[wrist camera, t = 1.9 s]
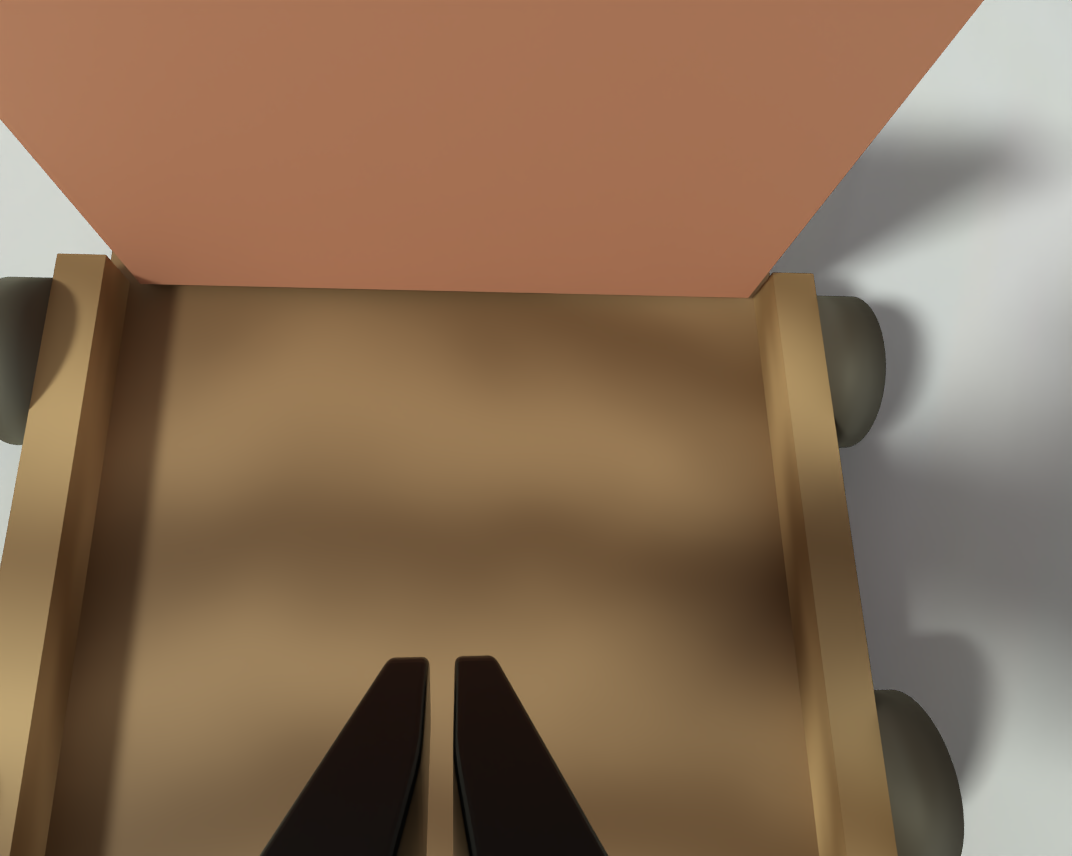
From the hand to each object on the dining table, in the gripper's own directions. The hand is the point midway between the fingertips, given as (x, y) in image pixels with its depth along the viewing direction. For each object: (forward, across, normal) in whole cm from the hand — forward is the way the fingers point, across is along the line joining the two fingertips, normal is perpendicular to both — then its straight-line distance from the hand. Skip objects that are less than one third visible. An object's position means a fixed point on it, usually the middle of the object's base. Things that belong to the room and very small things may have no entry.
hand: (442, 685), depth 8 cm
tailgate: (+16, 0, 0) cm, 16 cm away
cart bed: (+11, 0, +8) cm, 14 cm away
